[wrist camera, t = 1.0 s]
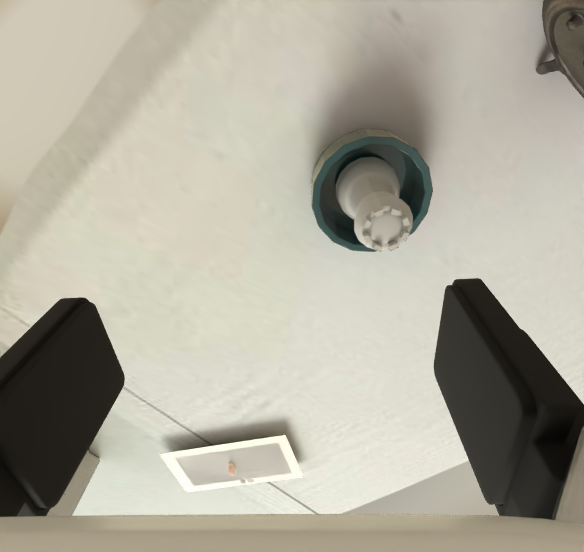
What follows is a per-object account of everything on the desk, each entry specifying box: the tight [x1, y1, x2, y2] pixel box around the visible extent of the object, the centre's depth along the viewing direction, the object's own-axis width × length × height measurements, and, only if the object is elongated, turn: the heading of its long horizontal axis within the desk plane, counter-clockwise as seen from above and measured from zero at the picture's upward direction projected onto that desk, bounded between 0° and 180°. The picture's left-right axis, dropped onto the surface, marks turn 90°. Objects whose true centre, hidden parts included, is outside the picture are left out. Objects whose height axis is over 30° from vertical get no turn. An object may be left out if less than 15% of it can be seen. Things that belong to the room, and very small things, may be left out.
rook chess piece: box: [336, 157, 413, 252], centre depth 23 cm, size 4×4×8 cm
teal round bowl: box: [311, 129, 433, 252], centre depth 26 cm, size 8×8×3 cm
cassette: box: [47, 450, 99, 516], centre depth 40 cm, size 12×2×8 cm, turn 39°
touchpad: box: [159, 435, 304, 492], centre depth 43 cm, size 8×15×2 cm, turn 105°
